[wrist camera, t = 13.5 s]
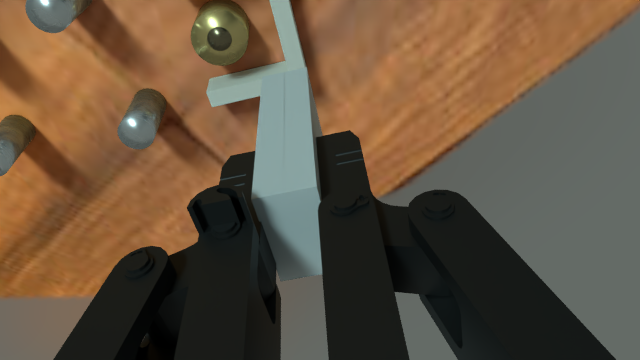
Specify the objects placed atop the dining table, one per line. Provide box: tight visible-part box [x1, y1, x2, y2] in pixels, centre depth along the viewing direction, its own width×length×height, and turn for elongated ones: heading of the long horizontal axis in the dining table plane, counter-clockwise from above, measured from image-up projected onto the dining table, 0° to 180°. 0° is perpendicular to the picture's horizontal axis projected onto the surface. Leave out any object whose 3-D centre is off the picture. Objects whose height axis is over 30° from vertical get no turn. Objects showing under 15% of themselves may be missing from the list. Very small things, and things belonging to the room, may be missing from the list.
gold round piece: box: [191, 0, 249, 66], centre depth 43 cm, size 5×5×4 cm
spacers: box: [0, 0, 166, 176], centre depth 43 cm, size 14×16×6 cm
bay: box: [206, 0, 306, 107], centre depth 43 cm, size 12×9×3 cm
